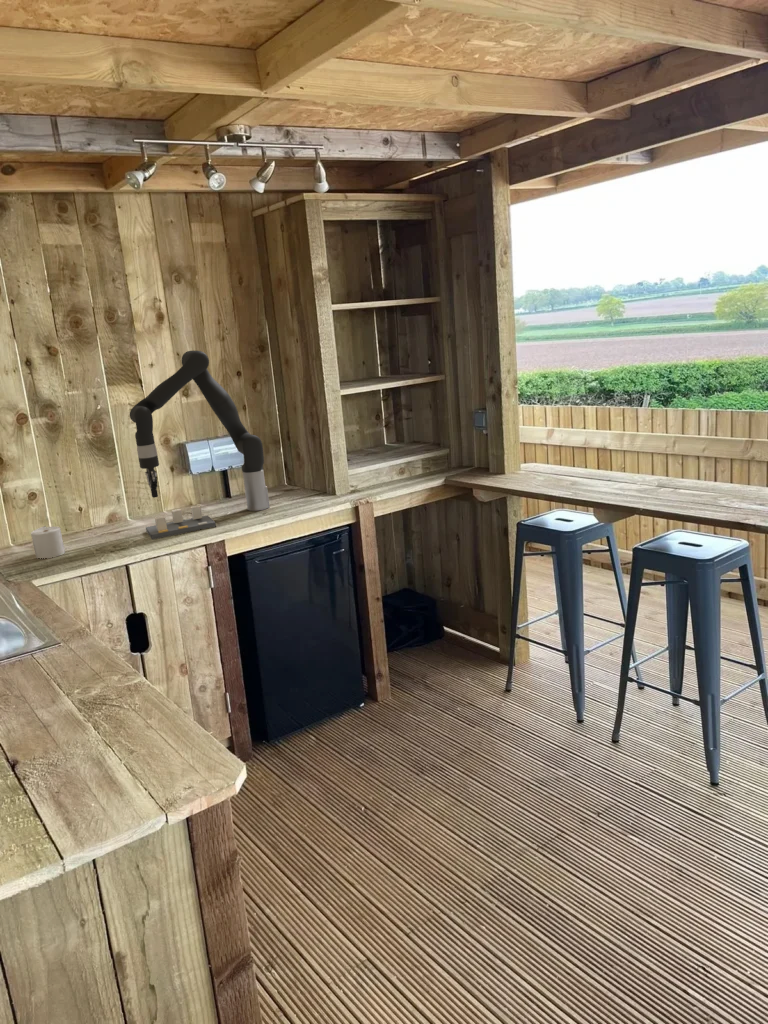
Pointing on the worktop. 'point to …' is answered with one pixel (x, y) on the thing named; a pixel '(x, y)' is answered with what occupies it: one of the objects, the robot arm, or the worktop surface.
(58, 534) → the toilet tissue
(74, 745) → the worktop surface
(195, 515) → the slider
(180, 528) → the switch board
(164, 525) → the slider
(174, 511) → the slider middle
